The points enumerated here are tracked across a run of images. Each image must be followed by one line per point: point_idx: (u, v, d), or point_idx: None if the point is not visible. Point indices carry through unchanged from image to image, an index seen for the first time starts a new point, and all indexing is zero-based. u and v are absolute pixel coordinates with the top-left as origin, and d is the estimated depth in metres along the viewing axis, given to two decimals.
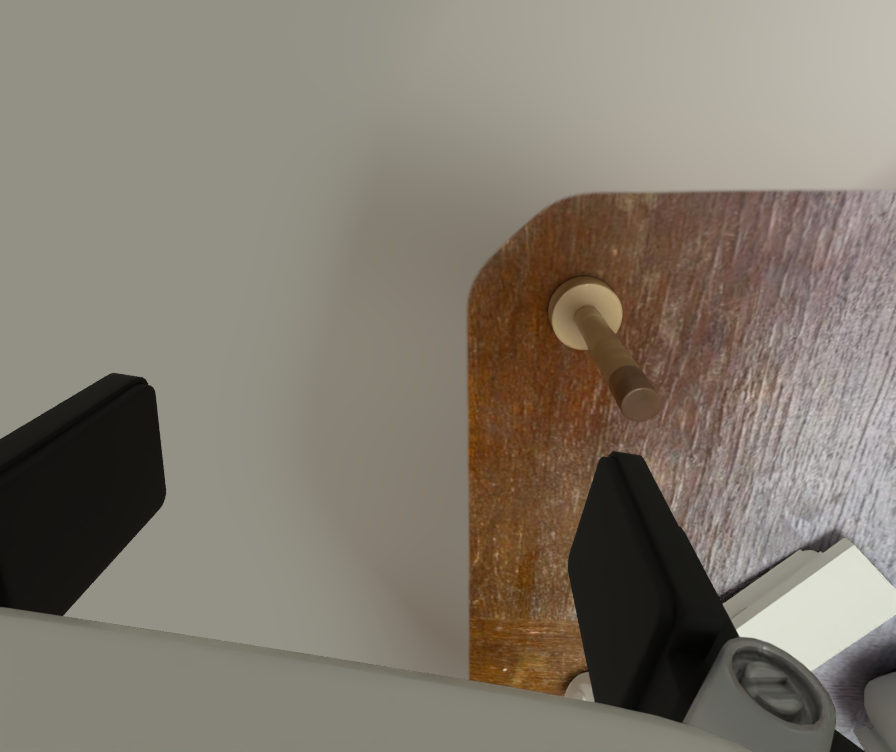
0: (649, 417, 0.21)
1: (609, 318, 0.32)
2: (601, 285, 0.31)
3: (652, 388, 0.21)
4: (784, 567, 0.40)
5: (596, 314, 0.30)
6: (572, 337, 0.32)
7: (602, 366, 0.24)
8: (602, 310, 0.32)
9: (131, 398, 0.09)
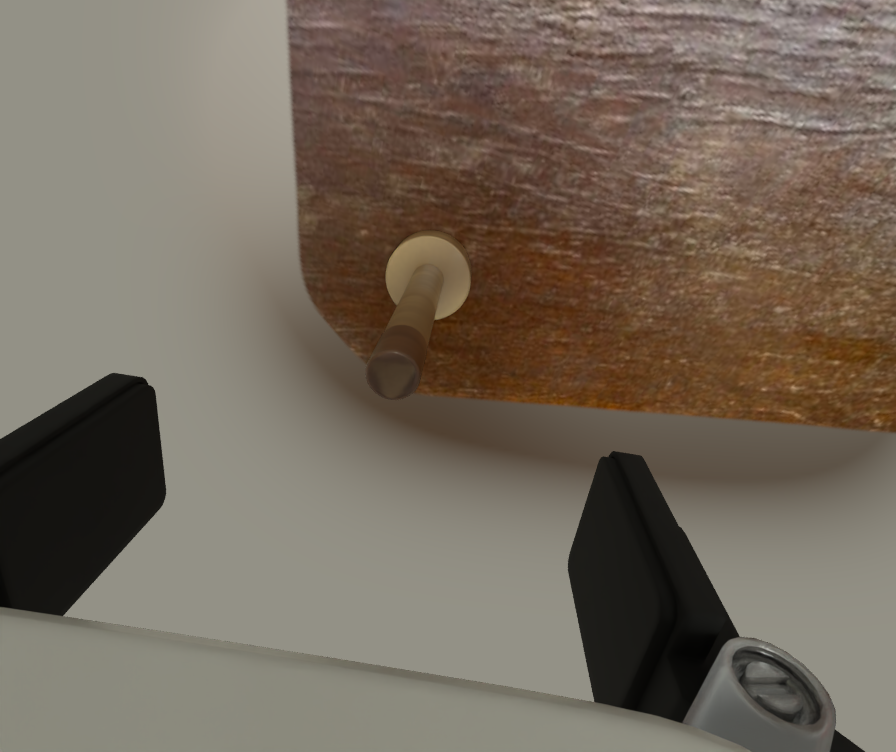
0: (412, 364, 0.15)
1: (430, 253, 0.25)
2: (388, 262, 0.26)
3: (370, 359, 0.15)
4: None
5: None
6: (452, 296, 0.26)
7: None
8: (419, 261, 0.25)
9: (131, 398, 0.09)
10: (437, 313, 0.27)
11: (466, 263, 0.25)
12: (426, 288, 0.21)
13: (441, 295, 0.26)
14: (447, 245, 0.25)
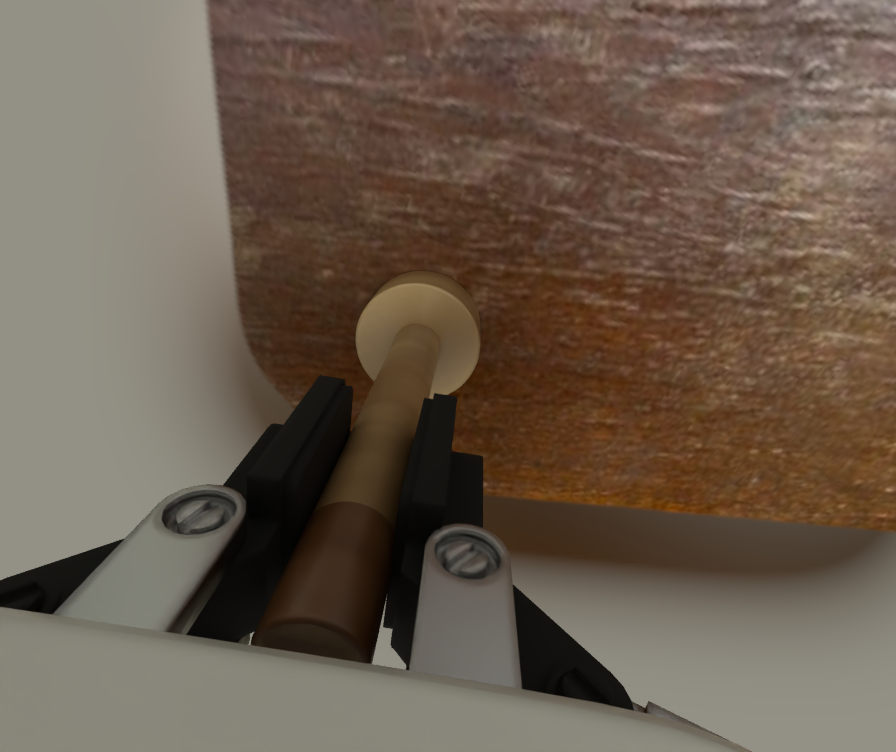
0: (351, 645, 0.07)
1: (420, 307, 0.17)
2: (359, 320, 0.17)
3: (259, 626, 0.07)
4: None
5: None
6: (452, 368, 0.18)
7: None
8: (404, 319, 0.17)
9: (343, 397, 0.11)
10: (431, 391, 0.18)
11: (473, 323, 0.17)
12: (409, 380, 0.13)
13: (437, 367, 0.18)
14: (445, 297, 0.17)
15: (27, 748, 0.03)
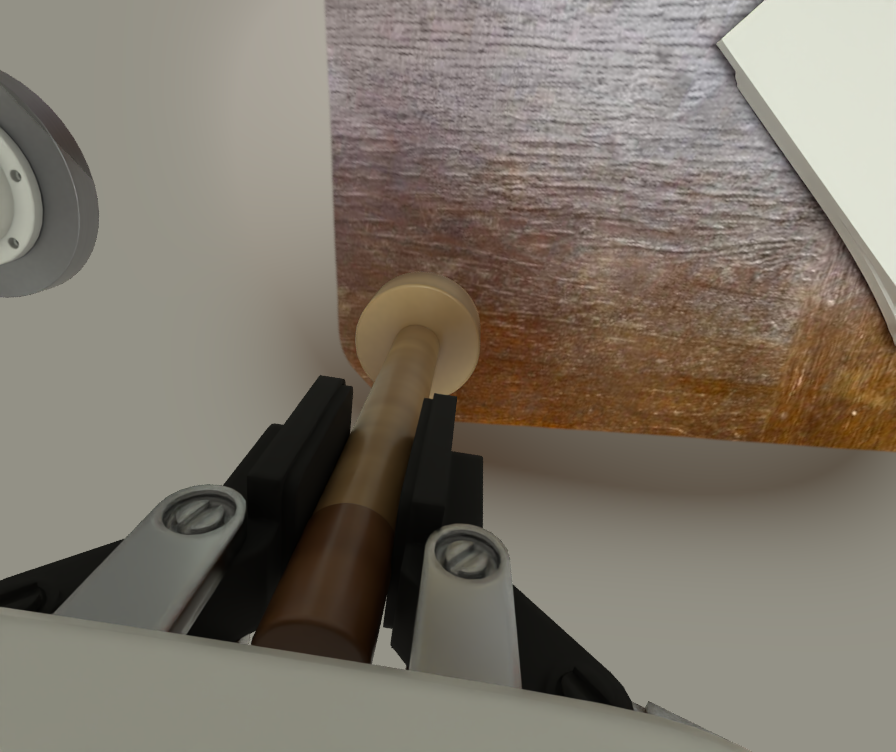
0: (351, 647, 0.07)
1: (420, 308, 0.17)
2: (359, 321, 0.17)
3: (259, 628, 0.07)
4: (755, 107, 0.33)
5: None
6: (452, 369, 0.18)
7: None
8: (404, 320, 0.17)
9: (343, 397, 0.11)
10: (431, 392, 0.18)
11: (473, 324, 0.17)
12: (408, 381, 0.13)
13: (436, 368, 0.18)
14: (445, 298, 0.17)
15: (27, 747, 0.03)
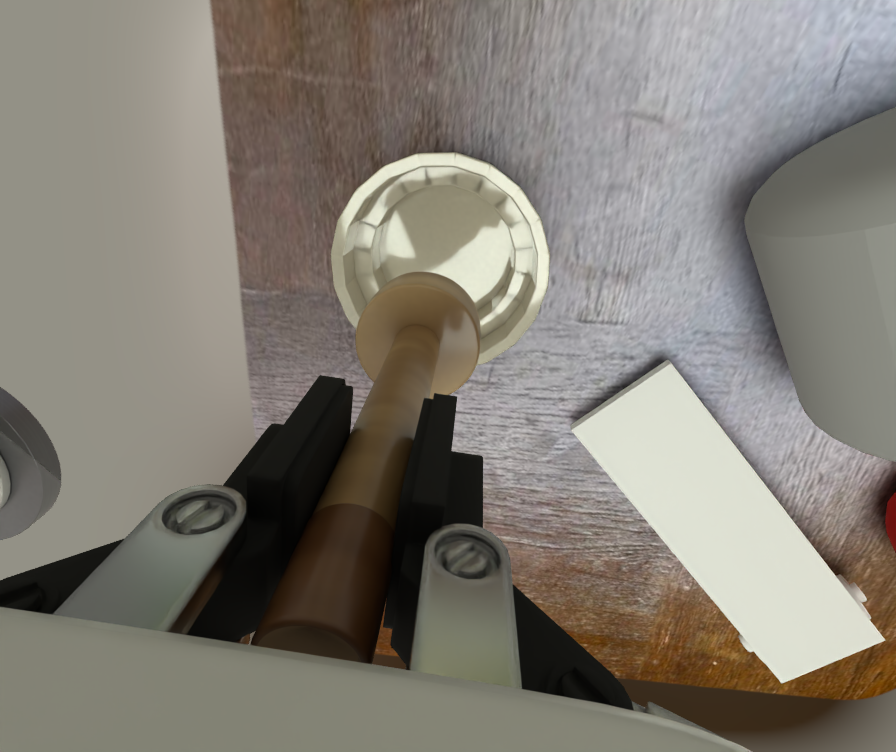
0: (351, 648, 0.07)
1: (420, 308, 0.17)
2: (359, 321, 0.17)
3: (258, 628, 0.07)
4: None
5: None
6: (452, 370, 0.18)
7: None
8: (404, 320, 0.17)
9: (344, 397, 0.11)
10: (431, 392, 0.18)
11: (473, 323, 0.17)
12: (408, 381, 0.13)
13: (437, 368, 0.18)
14: (445, 298, 0.17)
15: (27, 748, 0.03)
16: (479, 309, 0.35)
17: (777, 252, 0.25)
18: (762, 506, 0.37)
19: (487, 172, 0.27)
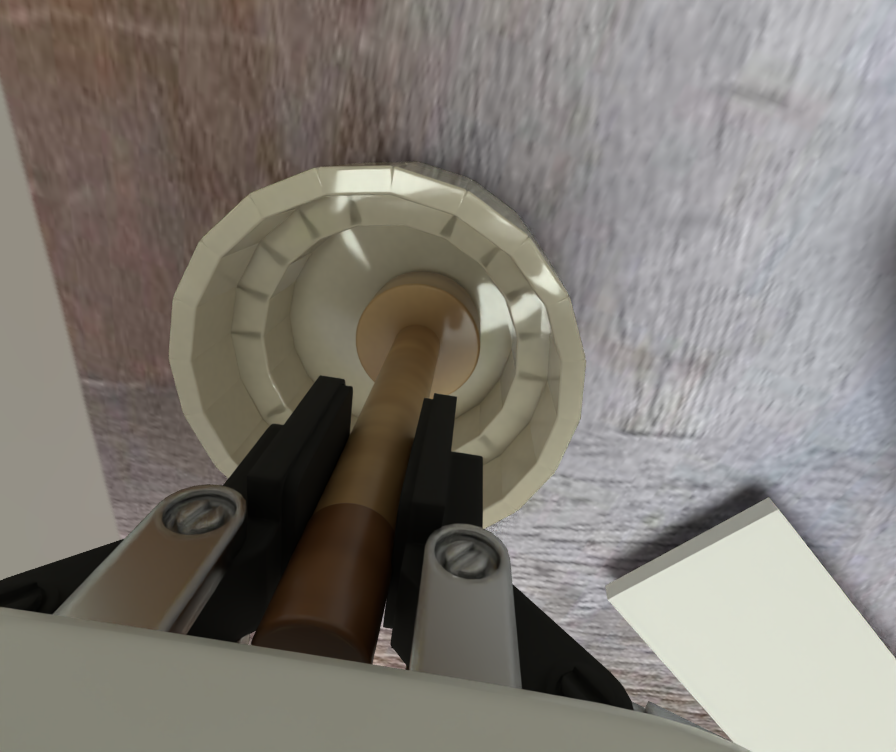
0: (351, 647, 0.07)
1: (420, 308, 0.17)
2: (359, 321, 0.17)
3: (259, 628, 0.07)
4: None
5: None
6: (452, 370, 0.18)
7: None
8: (404, 320, 0.17)
9: (344, 397, 0.11)
10: (431, 392, 0.18)
11: (473, 323, 0.17)
12: (409, 381, 0.13)
13: (437, 367, 0.18)
14: (445, 298, 0.17)
15: (27, 748, 0.03)
16: (459, 417, 0.21)
17: None
18: None
19: (460, 205, 0.13)
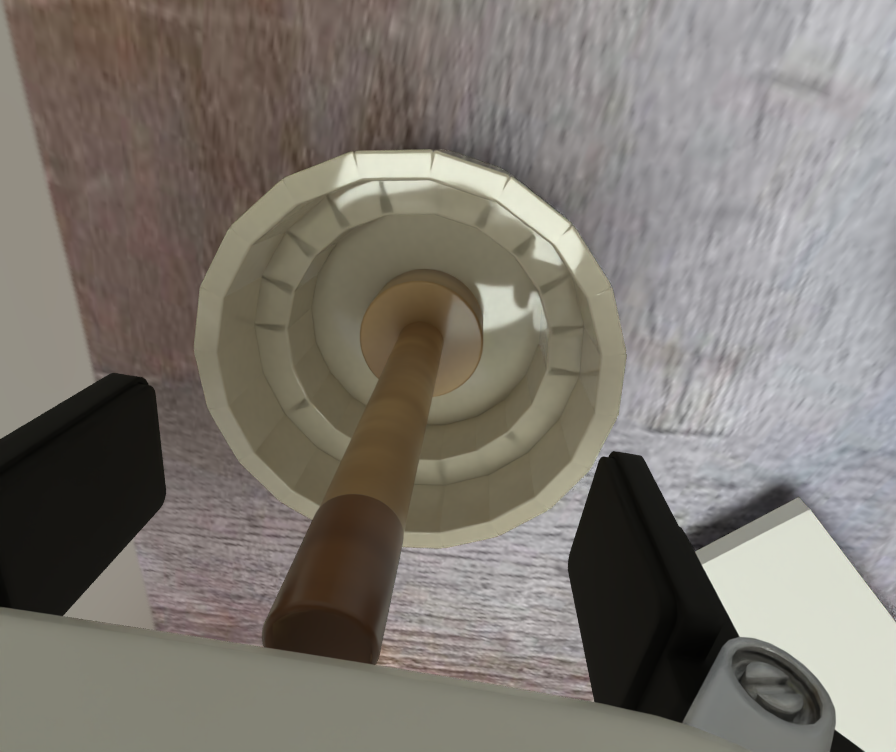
0: (360, 632, 0.07)
1: (423, 305, 0.17)
2: (363, 318, 0.18)
3: (270, 614, 0.07)
4: None
5: None
6: (456, 366, 0.18)
7: None
8: (408, 317, 0.17)
9: (131, 398, 0.09)
10: (434, 389, 0.18)
11: (477, 320, 0.17)
12: (413, 377, 0.13)
13: (440, 364, 0.18)
14: (449, 295, 0.17)
15: (27, 747, 0.03)
16: (483, 414, 0.21)
17: None
18: None
19: (502, 191, 0.12)
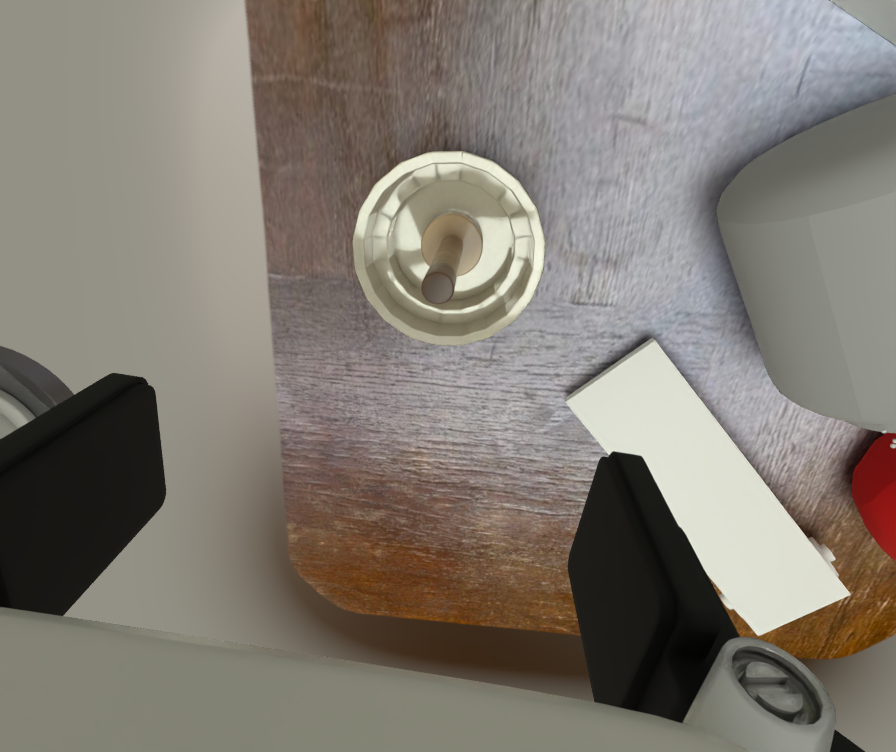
0: (449, 281, 0.25)
1: (453, 226, 0.35)
2: (423, 234, 0.36)
3: (424, 278, 0.25)
4: None
5: None
6: (468, 259, 0.36)
7: None
8: (445, 233, 0.35)
9: (131, 398, 0.09)
10: (458, 271, 0.37)
11: (479, 234, 0.35)
12: (453, 247, 0.31)
13: (461, 258, 0.36)
14: (466, 221, 0.35)
15: (27, 747, 0.03)
16: (482, 292, 0.39)
17: (740, 237, 0.29)
18: (738, 471, 0.40)
19: (490, 168, 0.30)
